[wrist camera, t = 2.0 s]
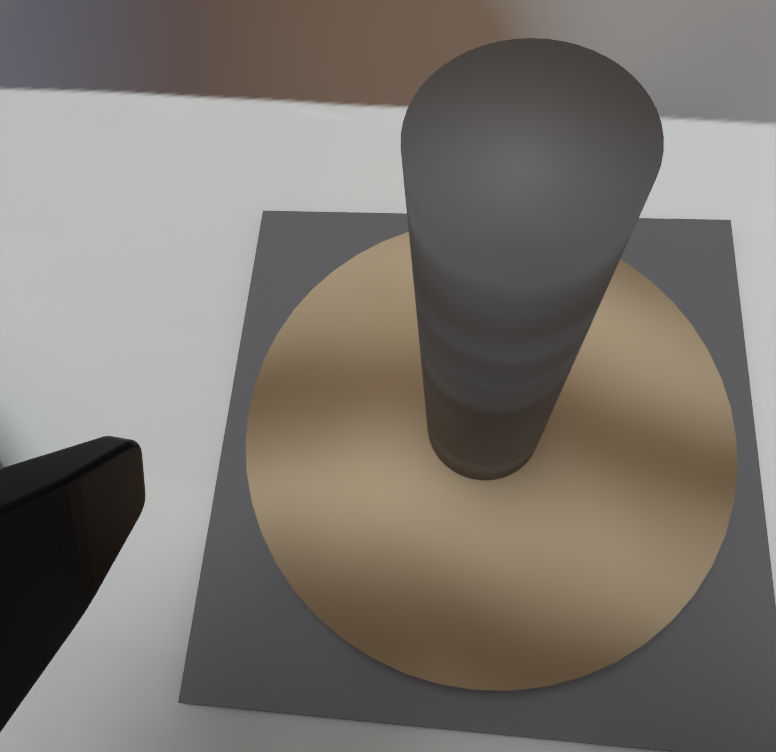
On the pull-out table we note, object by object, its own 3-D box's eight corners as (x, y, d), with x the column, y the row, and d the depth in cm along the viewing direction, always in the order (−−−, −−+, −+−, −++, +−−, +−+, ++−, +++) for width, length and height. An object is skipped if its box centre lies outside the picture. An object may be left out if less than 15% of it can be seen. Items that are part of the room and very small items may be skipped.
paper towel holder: (744, 712, 17) (1438, 868, 5) (222, 664, 18) (-192, 697, 6) (699, 247, 21) (1003, -234, 10) (288, 237, 23) (119, -195, 11)
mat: (788, 761, 16) (794, 763, 16) (182, 701, 18) (178, 702, 18) (726, 225, 22) (730, 219, 21) (265, 215, 23) (263, 210, 23)
